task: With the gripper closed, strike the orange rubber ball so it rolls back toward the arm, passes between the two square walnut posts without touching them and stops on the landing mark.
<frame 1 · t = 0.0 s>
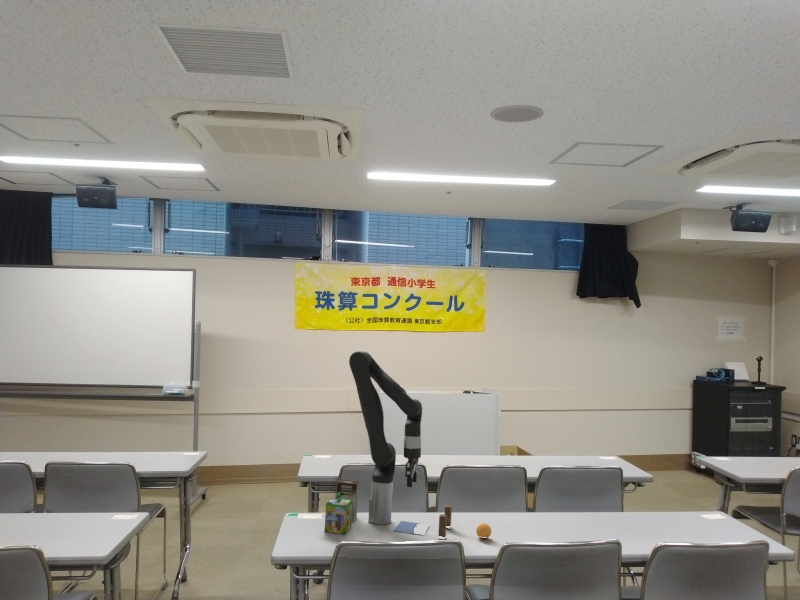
hand: (411, 484, 221), 17 cm above the table, tool pointing down, fingers open, 8 cm apart
chalk box: (338, 530, 210), on the table
landing mark: (412, 528, 216), on the table
post 1: (442, 538, 206), on the table
ball: (483, 531, 208), on the table
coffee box: (345, 519, 224), on the table
post 2: (447, 527, 219), on the table
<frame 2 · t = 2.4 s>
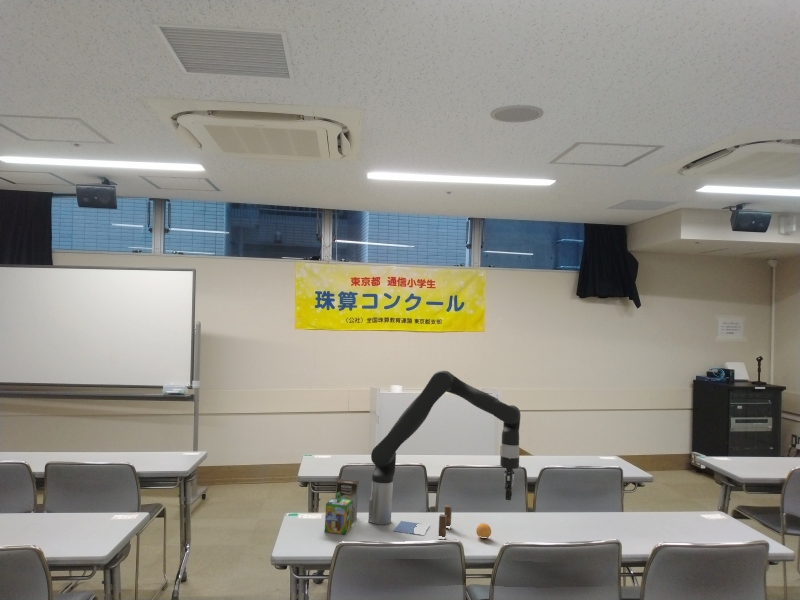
hand: (508, 497, 207), 17 cm above the table, tool pointing down, fingers open, 5 cm apart
nothing on the table moved.
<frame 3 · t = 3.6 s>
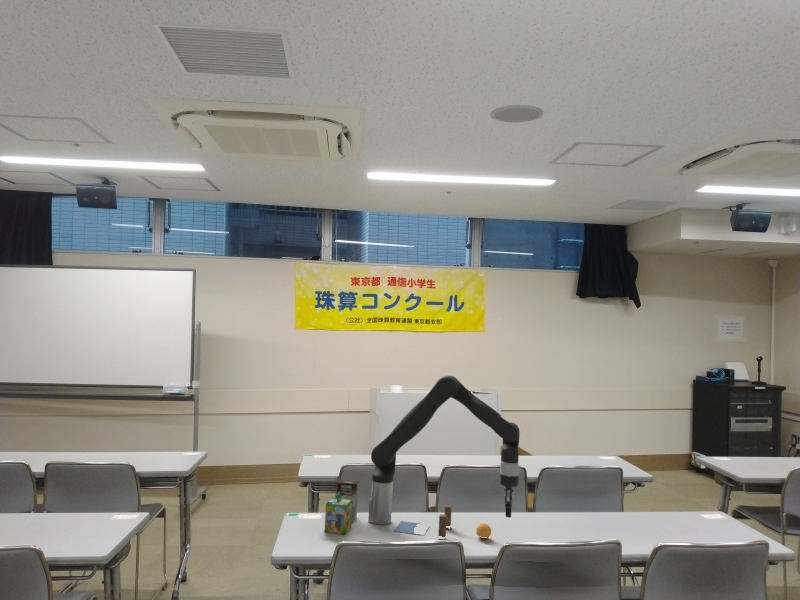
hand: (508, 516, 207), 10 cm above the table, tool pointing down, fingers closed
nothing on the table moved.
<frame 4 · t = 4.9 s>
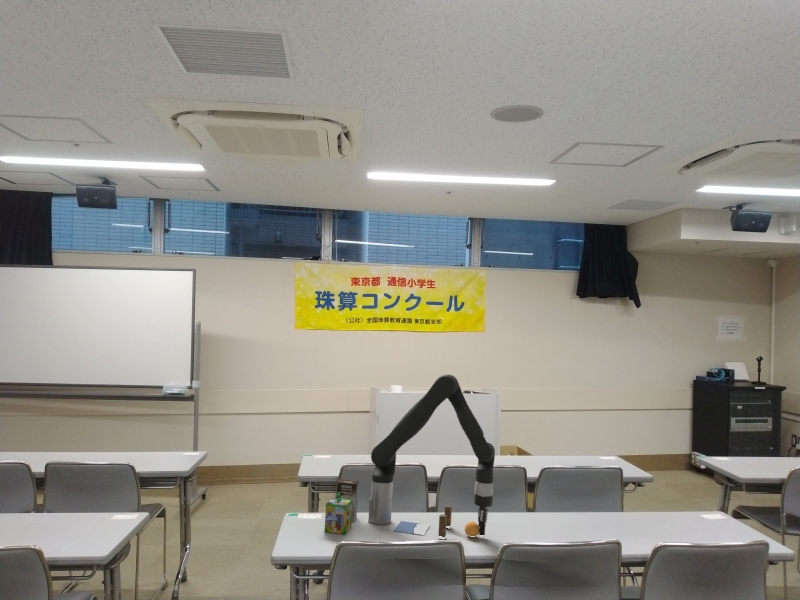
hand: (481, 536, 209), 1 cm above the table, tool pointing down, fingers closed
ball: (472, 529, 210), on the table
everything else where it was.
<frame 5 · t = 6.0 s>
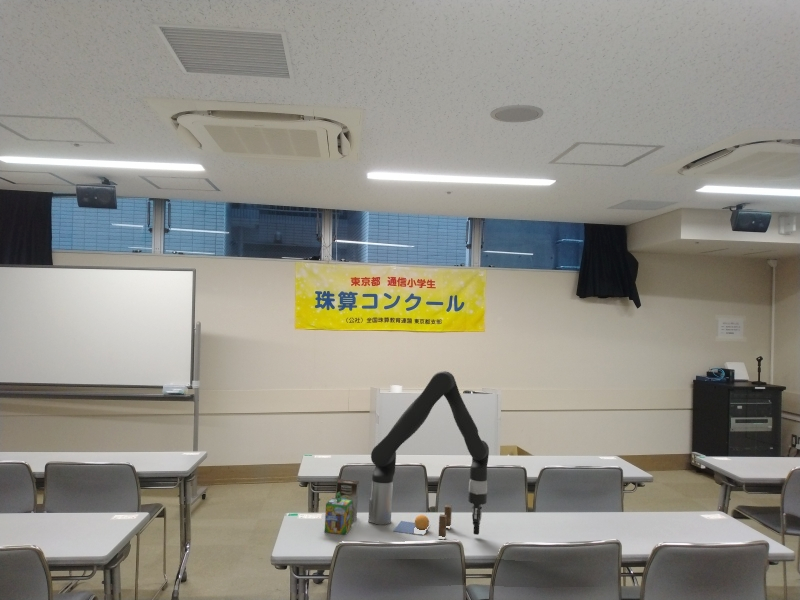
hand: (476, 533, 209), 2 cm above the table, tool pointing down, fingers closed
ball: (421, 522, 215), on the table
everything else where it was.
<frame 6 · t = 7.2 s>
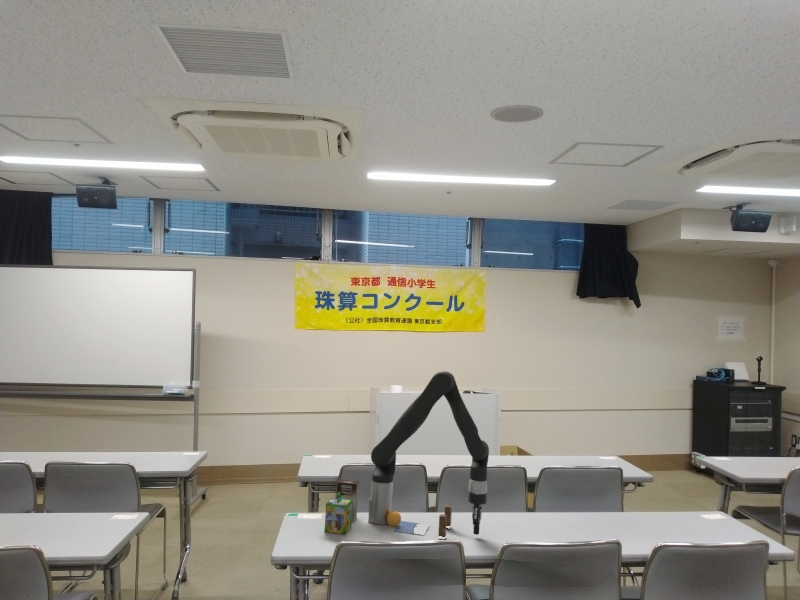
hand: (476, 533, 209), 2 cm above the table, tool pointing down, fingers closed
ball: (394, 518, 218), on the table
everything else where it was.
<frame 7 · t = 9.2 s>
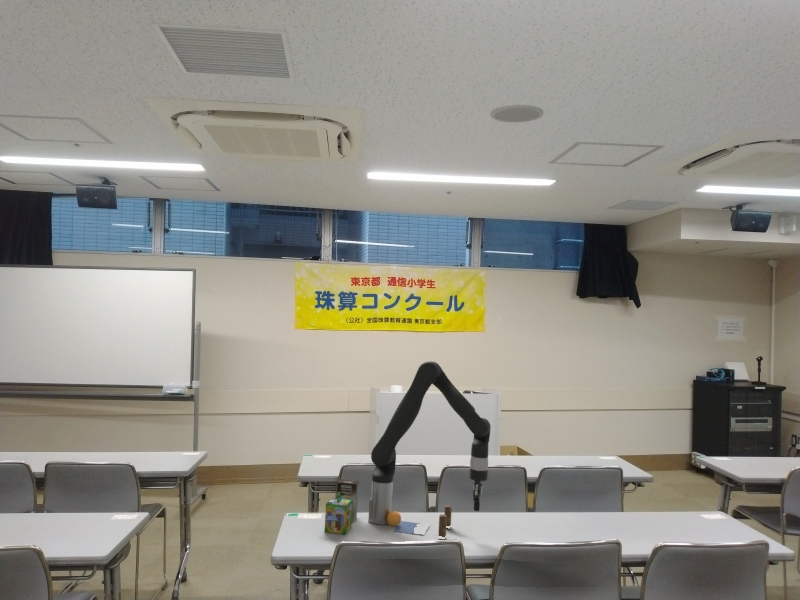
hand: (476, 510, 210), 11 cm above the table, tool pointing down, fingers closed
nothing on the table moved.
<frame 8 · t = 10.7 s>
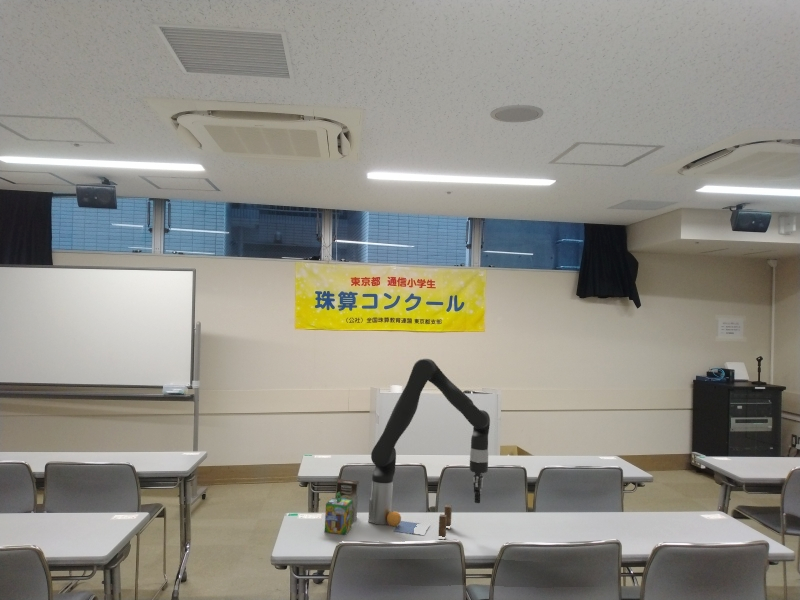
hand: (477, 502, 210), 14 cm above the table, tool pointing down, fingers closed
nothing on the table moved.
at the end: ball 8.1 cm from the landing mark (horizontally); ball never touched post 2; ball never touched post 1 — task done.
